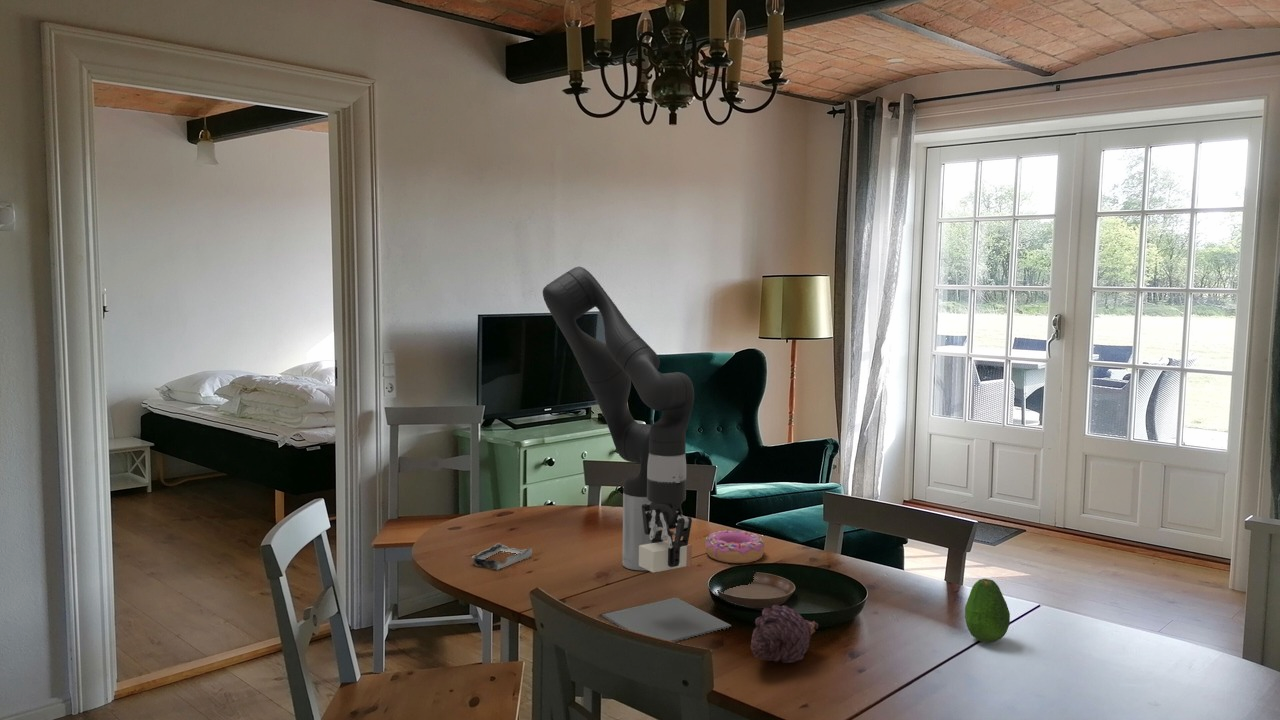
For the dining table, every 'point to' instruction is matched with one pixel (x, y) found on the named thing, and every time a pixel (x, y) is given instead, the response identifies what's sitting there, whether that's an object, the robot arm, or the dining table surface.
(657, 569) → the cream block
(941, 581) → the dining table surface
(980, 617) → the avocado
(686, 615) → the mat
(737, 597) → the plant saucer
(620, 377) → the robot arm
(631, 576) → the dining table surface
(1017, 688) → the dining table surface
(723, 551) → the donut
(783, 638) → the purple artichoke
